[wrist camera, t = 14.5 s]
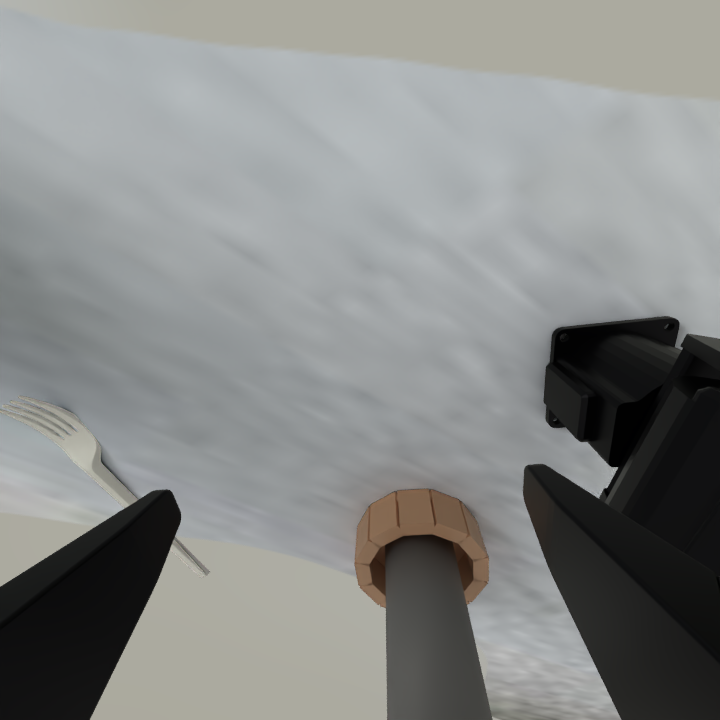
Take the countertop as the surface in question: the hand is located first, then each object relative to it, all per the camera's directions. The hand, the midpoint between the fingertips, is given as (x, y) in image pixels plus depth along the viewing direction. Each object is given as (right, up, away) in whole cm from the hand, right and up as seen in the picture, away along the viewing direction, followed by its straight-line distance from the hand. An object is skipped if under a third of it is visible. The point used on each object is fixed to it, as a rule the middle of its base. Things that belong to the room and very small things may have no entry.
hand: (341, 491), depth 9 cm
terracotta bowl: (+5, -10, +18) cm, 21 cm away
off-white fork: (-18, -7, +19) cm, 26 cm away
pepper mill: (+5, -10, +17) cm, 21 cm away
